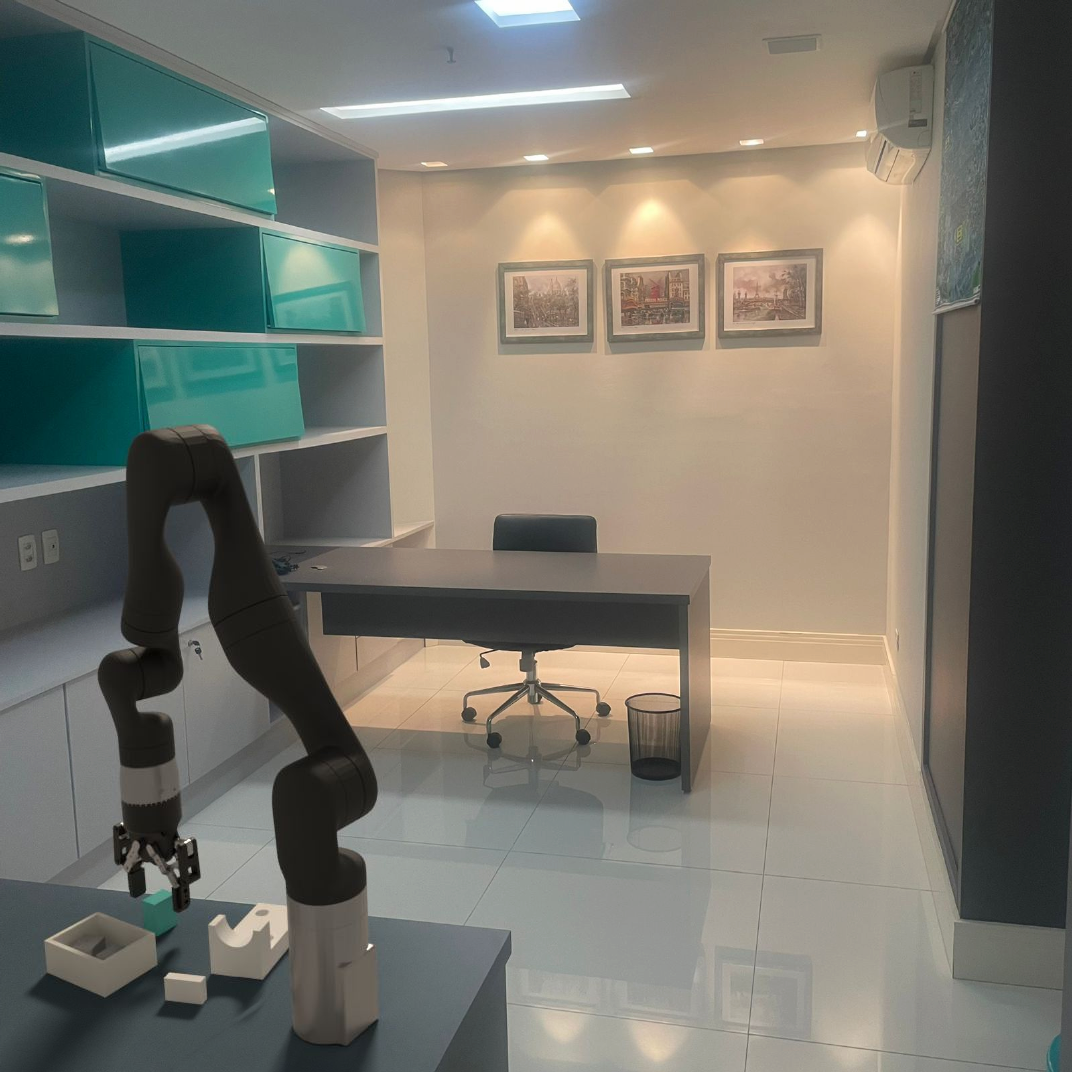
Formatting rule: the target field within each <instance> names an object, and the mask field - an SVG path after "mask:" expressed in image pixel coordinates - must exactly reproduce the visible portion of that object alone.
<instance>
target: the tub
mask: <svg viewBox="0 0 1072 1072" xmlns="http://www.w3.org/2000/svg"><path fill="white" fill-rule="evenodd" d="M83 935H94V936H105V943H106V949H107V948H109V947H110V946H112V945H114V944H119V945H121V946H124V947H125V948H124V949H122V950H120V951H119V952H117V953H115V954H113V955H112V956H110V957H108V958H107V959H105V960H101V959H98V958H96V957H93V956H91V955H88V954H86V953H83V952H81V951H78V950H76V949H74V948H71V946H72V945H73V944H74V943H75V942H76V941H77V940H79V939H80V938H81V937H82V936H83ZM43 942H44V951H45V952H44V953H45V961H46V962H45V963H46V972H47V974H50V975H51V976H54V977H57V978H59V979H61V980H63V981H66V982H68V983H71V984H73V985H75V986H76V987H79V988H81V989H84V990H87V991H88V992H91V993H94V994H96V995H97V996H100V997H103V998H108V997H109V996H110V995H112V994H113V993H115V992H117V991H118V990H119V989H122V987H124V986H126V985H128V984H129V983H131V982H132V981H134V980H135V979H138V978H139V977H140V976H142V975H144V974H145V973H147V972H148V971H150V970H152V969H153V968H154V967H156V966H158V957H157V942H156V936H155V933H153V932H151V931H148V930H145V929H144V927H143V928H142V927H139V926H137V925H135V924H132V923H130V922H129V923H128V922H127V921H123V920H121V919H118V918H115V917H113V916H111V915H110V916H109V915H108V914H105V913H102V912H99V911H96V912H95V913H93V914H91V915H89V916H87V917H85V918H83V919H81V920H79V921H78V922H76V923H74V924H72V925H71V926H69V927H67V928H65V929H63V930H61V931H59V932H57V933H56V934H54V935H52V936H50V937H49V938H46V939H45V940H44V941H43Z"/></svg>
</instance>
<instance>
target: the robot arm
mask: <svg viewBox="0 0 1072 1072" xmlns="http://www.w3.org/2000/svg"><path fill="white" fill-rule="evenodd" d="M125 464H126V468H125V494H126V495H125V496H126V498H125V503H126V505H125V507H126V530H127V531H126V533H127V534H126V535H127V549H128V550H127V553H128V557H127V561H128V562H127V564H128V566H127V578H126V586H125V591H124V598H123V605H122V611H121V617H120V631H121V634H122V636H123V638H124V639H125V640H126V641H127V642H129V643H130V644H132V645H134V647H133V646H132V647H128V648H123V649H119V650H114V651H111V652H108V654H106V655H104V657H103V658H102V660H101V661H100V663H99V664H98V665H99V666H98V669H97V682H98V686H99V688H100V691H101V693H102V696H103V698H104V701H105V703H106V705H107V707H108V710H109V712H110V715H111V718H112V721H113V724H114V726H115V731H116V735H117V742H118V743H117V744H118V755H119V756H118V757H119V789H120V803H121V811H122V812H121V814H122V815H121V816H122V821H120V822H119V823H117V824H115V825H113V827H112V838H113V861H114V864H115V865H116V866H120V865H121V866H122V867H123V871H124V872H125V873H127V885H128V887H127V888H128V891H129V896H130V897H131V898H133V899H137V898H139V897H141V896H142V895H145V893H146V891H147V882H146V881H147V880H146V871H145V867H144V866H143V865H144V864H145V863H146V864H147V863H148V864H149V863H150V864H152V865H153V866H157V868H158V870H159V872H160V874H161V875H163V876H166V877H167V879H168V881H169V884H170V885H171V892H172V901H173V911H174V912H177V914H180V913H181V912H183V911H185V910H187V909H188V908H189V907H190V906H191V891H190V885H192V884H193V883H195V882H197V881H199V880H200V879H201V878H202V875H201V867H200V858H199V850H198V849H199V848H198V841H197V839H196V837H194V836H192V837H189V838H188V839H184V838H181V836H180V834H179V831H178V827H179V824H180V823H181V820H182V819H183V812H182V811H183V810H182V797H181V783H180V771H179V765H178V762H177V755H176V743H175V731H174V729H175V728H174V723H173V720H172V718H171V716H170V715H169V714H167V713H165V712H161V711H139V710H138V708H137V702H138V701H139V702H140V701H143V700H148V699H152V698H154V697H155V698H156V697H159V696H163V695H167V694H169V693H172V692H173V691H175V689H177V688H178V687H179V685H180V684H181V683H182V680H183V677H184V670H185V669H184V663H183V657H182V652H181V647H180V646H181V645H180V636H179V624H180V619H181V613H182V608H183V603H184V599H185V598H184V597H185V580H184V574H183V571H182V569H181V567H180V565H179V563H178V561H177V558H176V556H174V553H173V551H172V550H171V548H170V546H169V544H168V542H167V539H166V534H165V525H166V520H167V517H168V514H169V511H170V509H171V507H178V506H180V505H186V504H191V503H196V502H199V503H200V504H201V506H202V508H203V509H204V511H205V514H206V517H207V520H208V522H209V525H210V529H211V532H212V537H213V540H214V543H213V544H214V555H213V562H212V568H211V574H210V581H209V587H208V594H207V612H208V617H209V620H210V623H211V625H212V627H213V630H214V632H215V634H216V637H217V639H218V641H219V643H220V646H221V648H222V650H223V651H222V652H223V653H224V655H225V658H226V659H227V661H228V663H229V665H230V666H231V667H232V669H233V670H234V671H235V672H236V673H237V674H238V675H239V677H240V678H242V679H243V680H244V681H245V682H246V683H248V684H249V686H251V687H252V688H254V689H255V690H256V691H257V692H258V693H260V694H261V695H262V696H264V697H265V698H266V699H267V700H269V702H271V703H273V705H275V706H276V707H277V708H279V710H280V711H281V712H283V714H284V715H285V716H286V718H287V719H288V720H289V721H290V723H291V724H292V726H293V728H294V729H295V731H296V733H297V735H298V737H299V738H300V740H301V743H302V744H303V747H304V749H305V752H306V754H307V755H305V756H304V757H302V758H299V759H297V760H295V761H293V762H290V763H288V764H287V765H285V766H283V768H281V769H280V770H279V772H277V774H276V776H275V778H274V781H273V786H272V790H271V791H272V792H271V809H272V810H271V811H272V819H273V829H274V838H275V847H276V849H275V850H276V857H277V862H278V865H279V869H280V872H281V874H282V875H283V879H284V881H285V894H286V896H285V897H286V906H287V922H288V941H289V948H288V955H289V956H288V957H289V975H290V976H289V977H290V993H291V1012H292V1015H291V1016H292V1028H293V1031H294V1033H295V1034H296V1035H297V1037H298V1038H301V1039H302V1040H303V1041H306V1042H308V1043H311V1044H317V1045H331V1044H332V1045H333V1044H334V1045H335V1044H339V1045H342V1046H349V1045H350V1044H351V1043H352V1042H353V1041H354V1040H355V1039H356V1038H357V1037H358V1036H359V1035H361V1034H362V1033H363V1032H364V1031H365V1030H366V1029H368V1028H369V1027H370V1026H372V1024H374V1022H375V1021H377V1020H378V1019H379V1018H380V1017H379V995H378V994H379V992H378V991H379V990H378V963H377V961H378V960H377V946H376V945H375V944H373V943H370V935H369V911H368V910H369V909H368V905H369V904H368V903H369V902H368V882H367V881H368V879H367V876H368V875H367V874H368V873H367V865H366V861H365V860H364V857H363V856H362V855H361V854H360V853H359V852H357V851H355V850H353V849H350V848H346V847H341V846H339V841H338V832H339V831H341V830H342V829H344V828H346V827H348V826H349V825H351V824H353V823H355V822H356V821H358V820H361V819H362V818H363V817H365V816H366V815H368V814H369V813H371V811H373V809H374V807H375V806H376V803H377V800H378V794H379V793H378V792H379V790H378V789H379V788H378V787H379V786H378V781H377V776H376V773H375V770H374V768H373V765H372V763H371V762H372V761H371V760H370V758H369V756H368V754H367V752H366V750H365V748H364V747H363V745H362V743H361V741H360V740H359V738H358V736H357V734H356V732H355V731H354V729H353V727H352V725H351V724H350V722H349V721H348V719H347V717H346V715H345V714H344V711H343V710H342V709H341V706H340V705H339V703H338V701H337V699H336V697H335V696H334V694H333V692H332V690H331V688H330V686H329V684H328V681H327V679H326V678H325V675H324V673H323V671H322V669H321V667H320V665H319V663H318V661H317V659H316V657H315V655H314V652H313V650H312V649H311V646H310V644H309V641H308V639H307V637H306V634H305V631H304V629H303V627H302V624H301V622H300V620H299V617H298V615H297V613H296V611H295V608H294V606H293V604H292V601H291V599H290V597H289V594H288V592H287V591H286V588H285V586H284V585H283V583H282V580H281V579H280V577H279V574H278V572H277V570H276V567H275V565H274V563H273V561H272V559H271V557H270V554H269V552H268V548H267V547H266V545H265V542H264V540H263V537H262V534H261V531H260V530H259V527H258V525H257V524H258V523H257V522H256V520H255V517H254V513H253V511H252V507H251V505H250V502H249V498H248V495H247V491H246V489H245V486H244V483H243V479H242V477H241V474H240V471H239V468H238V466H237V463H236V460H235V458H234V455H233V452H232V450H231V448H230V446H229V444H228V443H227V441H226V438H224V436H223V434H221V432H220V431H218V429H217V428H215V427H214V426H212V425H211V424H207V423H193V424H186V425H184V424H183V425H179V426H177V425H176V426H172V427H164V428H156V429H151V430H145V431H143V432H141V433H138V434H137V436H135V438H133V439H132V441H131V442H130V446H129V449H128V453H127V458H126V463H125ZM124 849H125V852H124V853H123V850H124ZM173 858H175V861H174V862H172V863H170V864H169V862H170V861H172V859H173ZM189 869H190V871H191V872H190V871H189ZM175 870H177V871H178V872H179V876H177V874H176V872H175Z"/></svg>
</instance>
